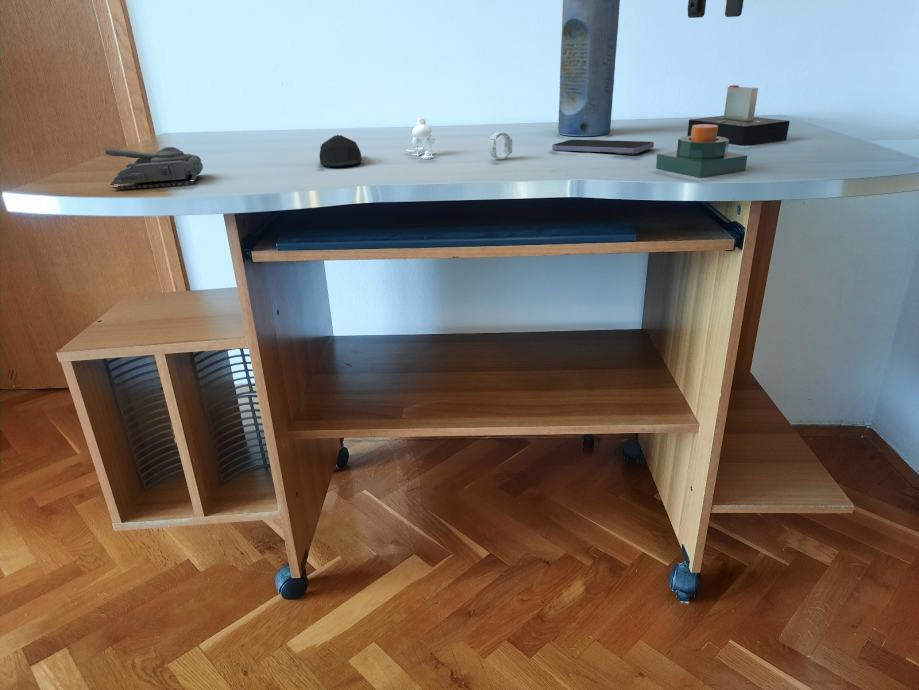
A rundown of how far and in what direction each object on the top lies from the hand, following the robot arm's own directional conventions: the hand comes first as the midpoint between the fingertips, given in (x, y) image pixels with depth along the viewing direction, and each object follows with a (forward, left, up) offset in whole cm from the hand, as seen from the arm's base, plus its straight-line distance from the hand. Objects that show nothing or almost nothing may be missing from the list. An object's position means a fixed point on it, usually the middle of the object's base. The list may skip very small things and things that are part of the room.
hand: (714, 17), depth 89 cm
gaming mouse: (+29, +48, -19) cm, 59 cm away
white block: (+6, -14, -15) cm, 22 cm away
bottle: (+28, +1, -19) cm, 34 cm away
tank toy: (+28, +75, -19) cm, 82 cm away
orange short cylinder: (-10, +9, -15) cm, 20 cm away
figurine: (+26, +35, -19) cm, 47 cm away
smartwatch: (+14, +27, -19) cm, 35 cm away
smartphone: (+11, +10, -19) cm, 24 cm away
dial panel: (+6, -14, -18) cm, 24 cm away
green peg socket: (-10, +10, -18) cm, 23 cm away
